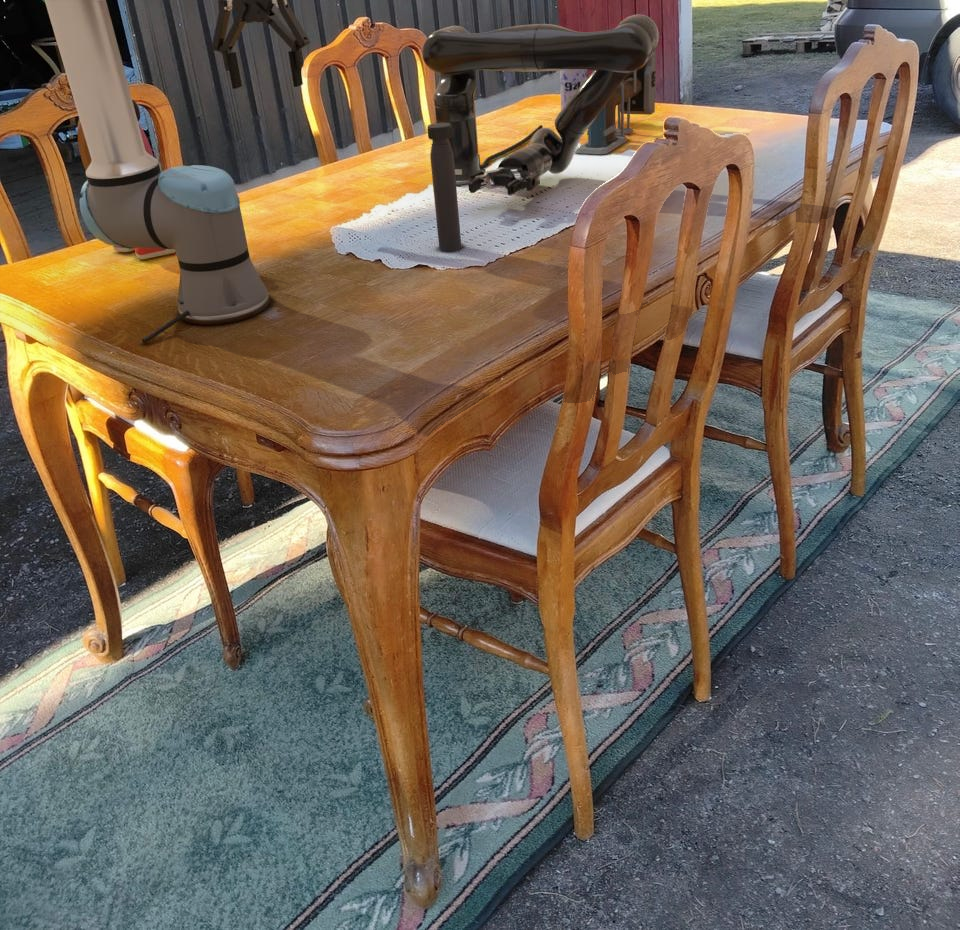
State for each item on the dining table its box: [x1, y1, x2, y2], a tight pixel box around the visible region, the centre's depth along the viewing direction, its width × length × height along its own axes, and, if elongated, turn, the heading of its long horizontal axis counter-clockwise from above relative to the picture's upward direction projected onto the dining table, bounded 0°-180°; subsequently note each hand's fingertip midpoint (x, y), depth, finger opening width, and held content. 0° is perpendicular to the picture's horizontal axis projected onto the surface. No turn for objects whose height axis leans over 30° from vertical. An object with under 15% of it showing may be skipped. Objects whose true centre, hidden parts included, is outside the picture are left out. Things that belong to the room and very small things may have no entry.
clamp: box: [575, 49, 657, 155], centre depth 249 cm, size 35×9×21 cm, turn 151°
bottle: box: [429, 138, 462, 253], centre depth 180 cm, size 4×4×22 cm
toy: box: [77, 99, 176, 260], centre depth 191 cm, size 21×10×30 cm, turn 47°
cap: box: [427, 122, 452, 141], centre depth 175 cm, size 4×4×2 cm
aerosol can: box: [559, 69, 588, 111], centre depth 273 cm, size 8×8×20 cm
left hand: (267, 86), depth 195 cm, fingers open, 13 cm apart
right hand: (489, 189), depth 196 cm, fingers open, 8 cm apart
